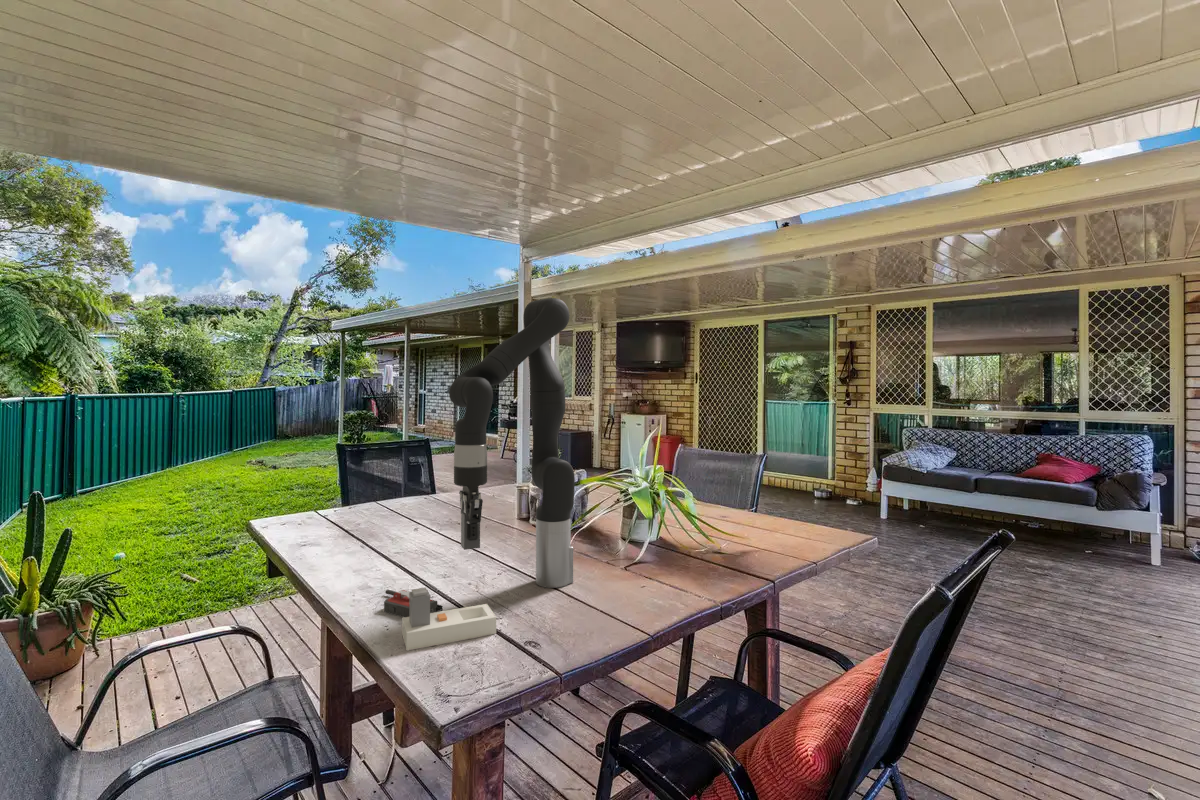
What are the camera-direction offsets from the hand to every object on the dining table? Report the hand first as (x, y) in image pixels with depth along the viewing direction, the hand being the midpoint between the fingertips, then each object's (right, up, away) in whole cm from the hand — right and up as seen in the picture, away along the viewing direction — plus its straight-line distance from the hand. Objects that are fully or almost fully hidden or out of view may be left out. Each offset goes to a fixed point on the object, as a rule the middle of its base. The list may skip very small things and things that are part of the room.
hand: (470, 537), depth 129 cm
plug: (0, -2, 0) cm, 2 cm away
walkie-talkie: (-16, -18, +3) cm, 24 cm away
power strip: (-2, -17, -11) cm, 21 cm away
